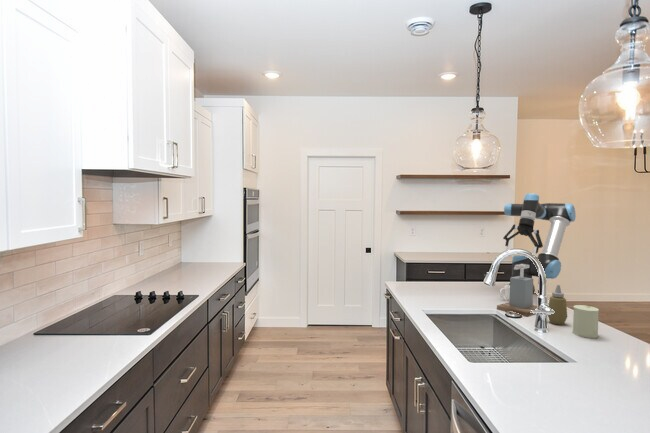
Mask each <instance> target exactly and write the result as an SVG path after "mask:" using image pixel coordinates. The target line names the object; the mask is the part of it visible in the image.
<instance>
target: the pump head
mask: <svg viewBox="0 0 650 433" xmlns="http://www.w3.org/2000/svg"><path fill="white" fill-rule="evenodd" d="M526 268H529V265H527V264H518V265H515V267H514V269H515V270H517V269H520V278H522V279H523V278H524V269H526Z"/></svg>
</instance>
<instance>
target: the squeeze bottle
mask: <svg viewBox="0 0 650 433" xmlns="http://www.w3.org/2000/svg"><path fill="white" fill-rule="evenodd" d="M548 307H550V308H551V309H553V310H554V311H555V313H554V314H551V315H547V317H548V320H549V323H551V324H553V325H558V326H559V325H560V326H561V325H565V323H566V320H567V319H568V308H567V298H565V293H564V292H562V290H561V285H560V284H556V286H555V291H552V294H551V296H550V297H549V302H548Z"/></svg>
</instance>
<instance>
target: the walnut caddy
mask: <svg viewBox="0 0 650 433" xmlns="http://www.w3.org/2000/svg"><path fill="white" fill-rule="evenodd" d="M537 306H538V305H536V304H533V305H532V307H531V308H527V309H521V308H517V307H513V306H509V301H508V302H505V303H501V304H497V305H496V309H497V310H499V311H502V312H506V311H513V312H516V313H519V314H521V315H520V316H522V315H523V316H522V317H531V316H534V315H535V314H533V313H530V310H535V309H536V308H537Z"/></svg>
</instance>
